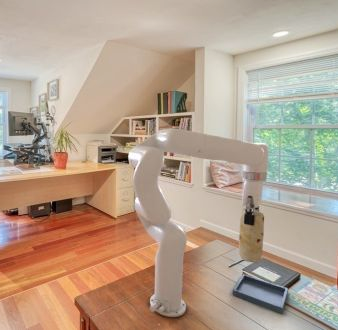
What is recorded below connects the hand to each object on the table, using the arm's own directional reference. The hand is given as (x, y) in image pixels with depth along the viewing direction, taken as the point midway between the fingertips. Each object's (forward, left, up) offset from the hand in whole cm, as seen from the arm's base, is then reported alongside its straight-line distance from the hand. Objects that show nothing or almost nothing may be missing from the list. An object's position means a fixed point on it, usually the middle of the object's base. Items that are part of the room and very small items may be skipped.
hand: (251, 221), depth 97 cm
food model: (0, 0, -15) cm, 15 cm away
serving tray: (+3, -4, -29) cm, 30 cm away
